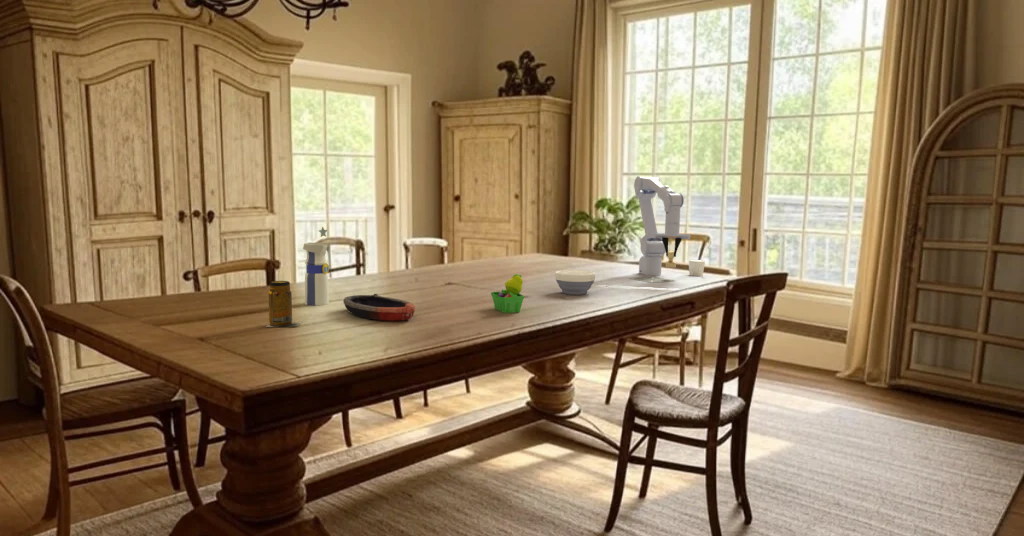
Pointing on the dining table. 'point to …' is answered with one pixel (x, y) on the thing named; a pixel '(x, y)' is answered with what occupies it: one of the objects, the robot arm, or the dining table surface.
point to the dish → (379, 307)
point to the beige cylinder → (696, 267)
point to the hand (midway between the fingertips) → (671, 256)
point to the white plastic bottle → (316, 273)
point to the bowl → (574, 281)
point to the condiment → (280, 305)
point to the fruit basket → (509, 296)
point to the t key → (670, 260)
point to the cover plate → (652, 279)
